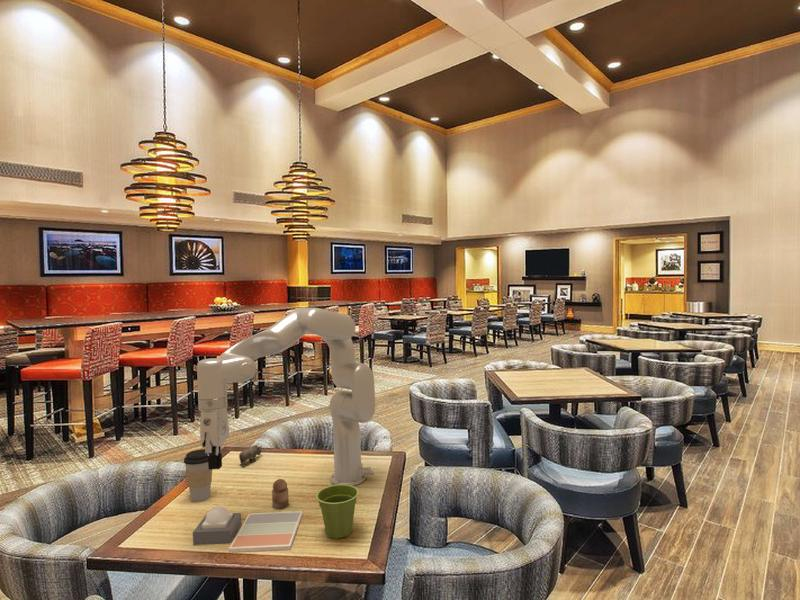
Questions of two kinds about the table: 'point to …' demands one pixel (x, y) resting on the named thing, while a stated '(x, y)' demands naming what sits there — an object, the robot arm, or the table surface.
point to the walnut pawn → (280, 494)
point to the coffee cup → (198, 475)
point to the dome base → (217, 532)
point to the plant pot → (338, 509)
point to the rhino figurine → (249, 454)
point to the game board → (267, 532)
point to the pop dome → (217, 518)
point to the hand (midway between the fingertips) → (215, 468)
